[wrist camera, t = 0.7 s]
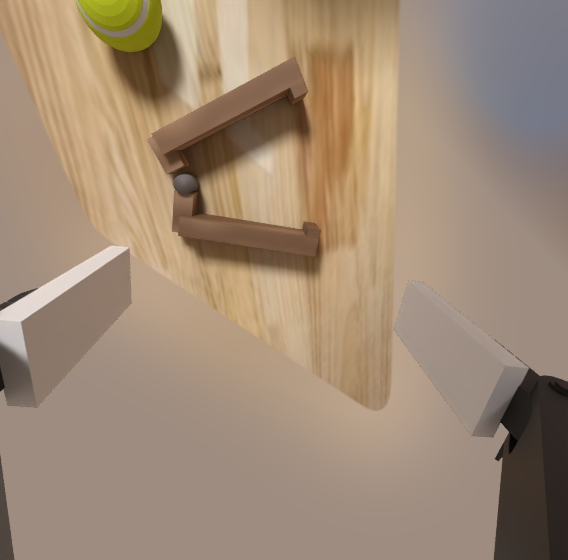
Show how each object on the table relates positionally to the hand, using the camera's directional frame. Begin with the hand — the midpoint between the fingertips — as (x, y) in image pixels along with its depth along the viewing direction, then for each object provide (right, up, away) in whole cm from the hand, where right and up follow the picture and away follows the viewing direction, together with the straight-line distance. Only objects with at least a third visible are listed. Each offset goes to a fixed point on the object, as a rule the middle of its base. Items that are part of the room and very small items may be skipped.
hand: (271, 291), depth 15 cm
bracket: (-5, +17, +18) cm, 26 cm away
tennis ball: (-14, +25, +15) cm, 32 cm away
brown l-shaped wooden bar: (-3, +9, +22) cm, 24 cm away
